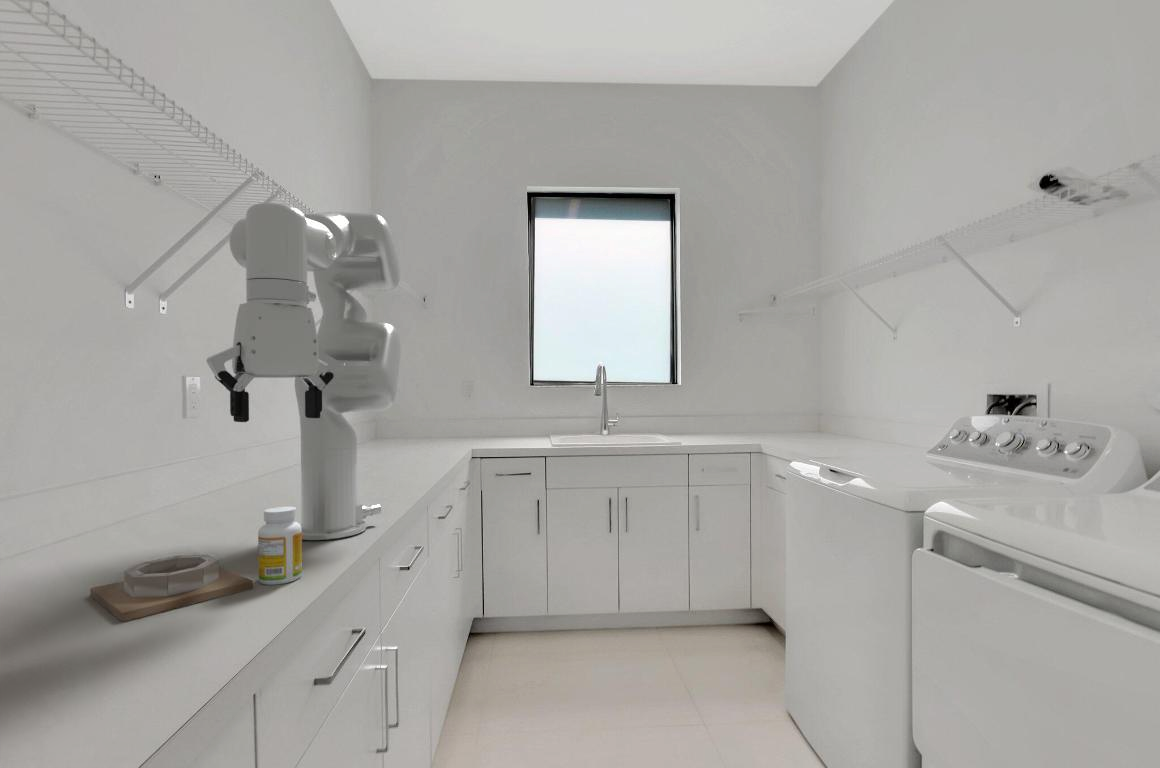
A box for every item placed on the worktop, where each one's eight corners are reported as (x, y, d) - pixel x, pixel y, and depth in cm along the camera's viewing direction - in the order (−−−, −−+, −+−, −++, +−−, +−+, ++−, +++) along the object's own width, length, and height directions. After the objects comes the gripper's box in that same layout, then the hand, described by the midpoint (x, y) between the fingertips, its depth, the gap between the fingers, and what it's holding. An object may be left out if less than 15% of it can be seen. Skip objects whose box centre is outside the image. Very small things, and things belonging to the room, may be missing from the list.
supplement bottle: (291, 570, 85) (291, 503, 85) (309, 578, 82) (308, 508, 82) (251, 580, 81) (251, 509, 81) (268, 588, 77) (268, 514, 77)
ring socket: (211, 568, 86) (211, 545, 86) (253, 588, 77) (253, 561, 77) (90, 595, 75) (90, 568, 75) (122, 621, 66) (122, 590, 66)
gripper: (323, 305, 90) (324, 416, 90) (196, 292, 77) (197, 422, 77) (349, 300, 86) (351, 417, 86) (219, 285, 72) (220, 424, 72)
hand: (278, 419), depth 81 cm, fingers open, 9 cm apart
